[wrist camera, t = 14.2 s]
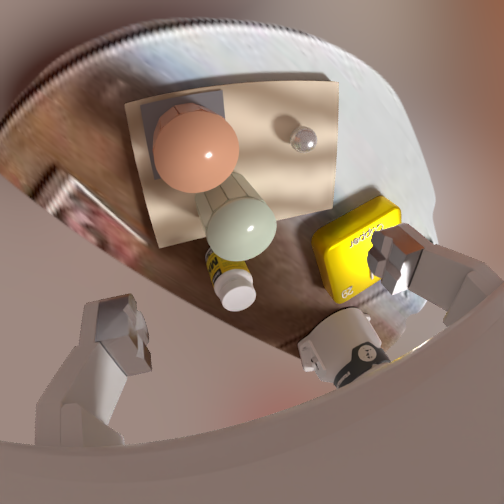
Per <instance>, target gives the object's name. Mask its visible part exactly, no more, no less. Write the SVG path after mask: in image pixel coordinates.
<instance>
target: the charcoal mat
mask: <svg viewBox="0 0 504 504" xmlns="http://www.w3.org/2000/svg"><path fill="white" fill-rule="evenodd" d="M185 103H195V104H197V105H200V106H203V107H206V108H208V109H210V110H212V111H213V112H215V113H217V114H219V115H220V116H222V117H223V118H224V119H225V111H224V100H223V90H218V91H211V92H204V93H197V94H191V95H185V96H180V97H174V98H169V99H164V100H160V101H155V102H151V103H147V104H142V105H140V108H141V114H142V120H143V126H144V131H145V137H146V142H147V147H148V152H149V157H150V161H151V166H152V171H153V175H154V180H157V179H161V177H160V175H159V173H158V171H157V169H156V166H155V162H154V155H153V136H154V131H155V128H156V126H157V123H158V120H159V118H160V117H161V116H162V115H163V114H164V113H165V112H167V111H168V110H169V109H170V108H172V107H173V106H174V107H175V105H180V104H185Z"/></svg>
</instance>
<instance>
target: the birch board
mask: <svg viewBox="0 0 504 504" xmlns="http://www.w3.org/2000/svg"><path fill="white" fill-rule="evenodd" d="M218 90H223V100H224V111H225V120H226V121H227V122H228V123H229V124H230V125H231V127H232V128H233V130H234V131H235V133H236V135H237V138H238V142H239V157H238V161H237V163H236V166H235V168H234V170H233V172H235V173H238V174H241V175H242V176H244V178H245V179H246V180H247V181H248V182H249V183H250V185H251V186H252V187H253V188H254V189H255V191H256V192H257V193H258V194H259V195H260V196H261V198H262V199H263V200H264V201H265V203H266V204H267V205H268V207H269V208H270V209H271V210H272V212H273V213H274V216H275V218H276V221H277V220H281V219H286V218H290V217H295V216H299V215H304V214H309V213H313V212H318V211H323V210H328V209H332V208H333V197H334V186H335V172H336V157H337V137H338V103H339V82H334V81H314V80H281V81H258V82H244V83H233V84H223V85H215V86H207V87H200V88H194V89H188V90H182V91H176V92H171V93H166V94H161V95H157V96H152V97H148V98H144V99H140V100H136V101H132V102H128V103H125V104H124V105H125V111H126V116H127V122H128V127H129V132H130V137H131V142H132V147H133V151H134V156H135V160H136V165H137V169H138V173H139V177H140V181H141V185H142V189H143V193H144V197H145V201H146V205H147V208H148V212H149V215H150V219H151V223H152V226H153V229H154V233H155V236H156V240H157V243H158V246H159V248H163V247H167V246H171V245H175V244H179V243H183V242H187V241H191V240H195V239H199V238H203V237H206V236H205V233H204V230H203V227H202V224H201V221H200V218H199V215H198V212H197V208H196V202H195V195H196V193H187V192H182V191H179V190H176V189H174V188H172V187H171V186H169V185H168V184H167V183H166V182H165V181H164V180H163V179H162V178H161V179H157V180H154V175H153V171H152V166H151V161H150V157H149V152H148V147H147V142H146V137H145V131H144V126H143V120H142V114H141V108H140V105H142V104H147V103H151V102H155V101H160V100H164V99H169V98H174V97H180V96H185V95H191V94H197V93H204V92H211V91H218ZM300 126H306V127H309V128H311V129H312V130H313V131H314V132H315V133H316V135H317V145H316V147H315V148H314V149H313V150H312V151H310V152H308V153H300V152H297V151H296V150H294V149H293V147H292V146H291V144H290V134H291V132H292V131H293V130H294V129H295V128H297V127H300Z"/></svg>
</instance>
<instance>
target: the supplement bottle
mask: <svg viewBox="0 0 504 504" xmlns="http://www.w3.org/2000/svg"><path fill="white" fill-rule="evenodd" d="M205 261H206V265H207V268H208V272H209V275H210V278H211V281H212V285H213V288H214V291H215V293H216V295H217V296H218V297H219V298H220V300H221V302H222V305H223V307H224V308H225V309H227V310H229V311H241V310H244V309H246V308H248V307H249V306H250V305H251V304H252V303H253V302H254V300H255V298H256V292H255V290H254V287H253V279H252V276H251V274H250V272H249V270H248V268H247V266H246V264H245V261H229V260H225V259H223V258H221V257H219V256H218V255H216V254H215V253H214V252H213V250H212V249H211V247H210V248H209V249H208V251H207V253H206V256H205Z"/></svg>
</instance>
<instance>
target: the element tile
mask: <svg viewBox="0 0 504 504" xmlns="http://www.w3.org/2000/svg"><path fill="white" fill-rule="evenodd" d="M398 224H401V210H400V208H399V207H398V206H397V205H395V204H394V203H392V202H391V201H390V200H388V199H387V198H385V197H384V196H378V197H375V198H374V199H372V200H370V201H368V202H366V203H365V204H363V205H361V206H359V207H357V208H356V209H354V210H352V211H350V212H348V213H347V214H345V215H343V216H341V217H339V218H338V219H336V220H334V221H332V222H330V223H329V224H327V225H325V226H323V227H321V228H320V229H318V230H317V231H316V232H315V233H314V235H313V237H312V241H311V244H312V248H313V251H314V254H315V258H316V261H317V264H318V268H319V271H320V275H321V278H322V282H323V285H324V288H325V289H326V291H327V292H328V293H329V295H330V296H331V297H332V299H333V300H334V301H335V302H336V303H338V304H341V303H343V302H345V301H347V300H349V299H351V298H352V297H354V296H355V295H357V294H359V293H360V292H362V291H363V290H365V289H366V288H368V287H370V286H371V285H373V284H374V283H376V282H377V281H379V280H380V279H381V278H379V277H377V276H374V275H373V273H372V272H371V271H370V269H369V267H368V264H367V254H368V251H369V249H370V248H371V246H372V244H371V242H370V240H371V236H372V234H373V233H374V231H378V230H381V229H385V228H388V227H392V226H395V225H398Z"/></svg>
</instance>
